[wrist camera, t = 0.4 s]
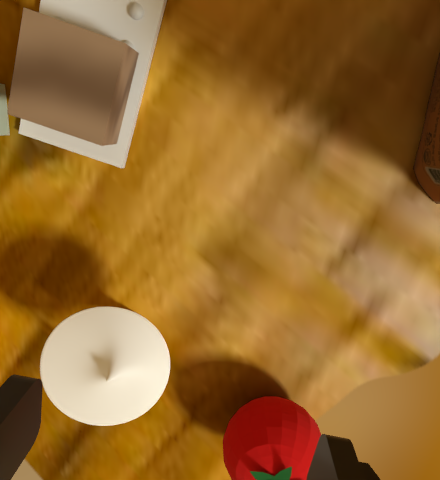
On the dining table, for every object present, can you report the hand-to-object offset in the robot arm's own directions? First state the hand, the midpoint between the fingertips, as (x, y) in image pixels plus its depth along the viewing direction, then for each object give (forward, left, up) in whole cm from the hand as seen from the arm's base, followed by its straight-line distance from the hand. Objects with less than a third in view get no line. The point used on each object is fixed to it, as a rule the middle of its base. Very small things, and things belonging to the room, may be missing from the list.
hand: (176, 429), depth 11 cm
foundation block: (-7, -15, -27) cm, 32 cm away
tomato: (+21, +13, -28) cm, 37 cm away
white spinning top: (+14, -5, -28) cm, 31 cm away
